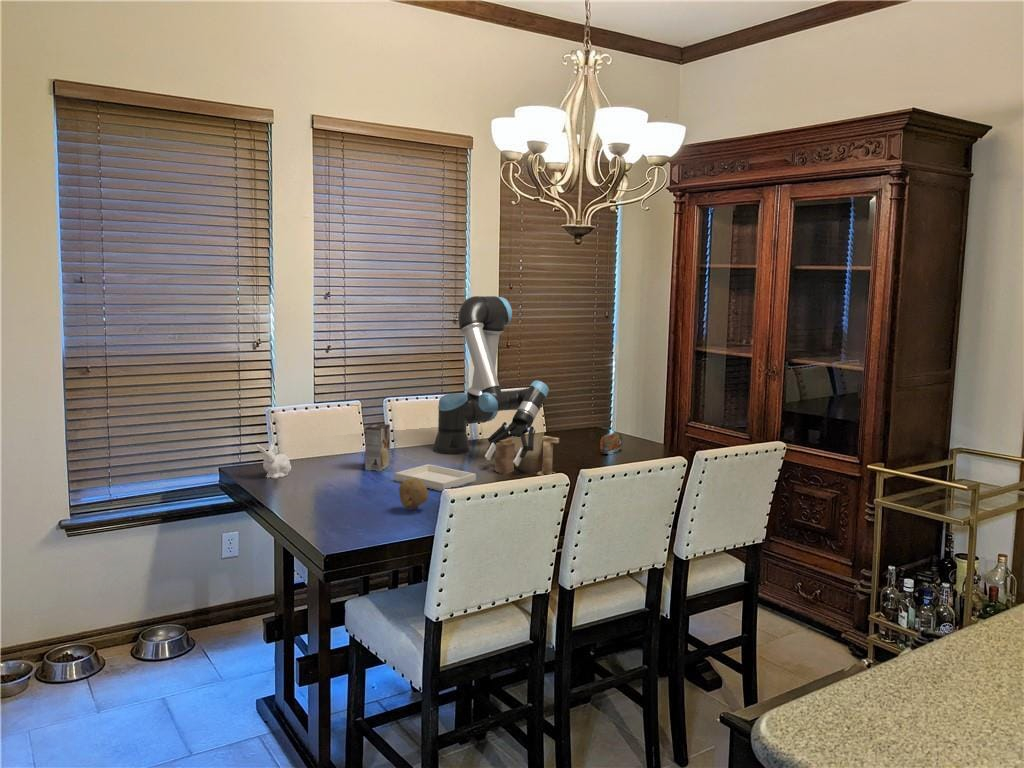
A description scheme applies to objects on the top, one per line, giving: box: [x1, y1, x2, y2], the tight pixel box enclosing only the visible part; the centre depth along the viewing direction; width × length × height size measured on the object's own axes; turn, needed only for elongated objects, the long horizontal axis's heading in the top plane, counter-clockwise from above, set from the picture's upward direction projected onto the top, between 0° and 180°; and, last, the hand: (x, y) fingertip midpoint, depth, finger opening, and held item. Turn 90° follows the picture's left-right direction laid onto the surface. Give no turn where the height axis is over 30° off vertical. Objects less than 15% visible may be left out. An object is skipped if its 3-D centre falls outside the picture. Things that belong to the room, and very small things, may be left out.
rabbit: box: [256, 441, 292, 479], centre depth 288 cm, size 12×9×12 cm
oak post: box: [537, 435, 560, 475], centre depth 300 cm, size 8×7×15 cm
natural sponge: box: [398, 478, 429, 511], centre depth 252 cm, size 9×9×10 cm
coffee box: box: [364, 423, 391, 472], centre depth 303 cm, size 9×6×16 cm
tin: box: [599, 432, 623, 453], centre depth 344 cm, size 15×3×8 cm, turn 143°
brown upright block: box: [494, 438, 516, 473], centre depth 304 cm, size 5×5×12 cm
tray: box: [394, 463, 477, 493], centre depth 287 cm, size 22×18×3 cm
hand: (501, 461), depth 302 cm, fingers open, 12 cm apart
